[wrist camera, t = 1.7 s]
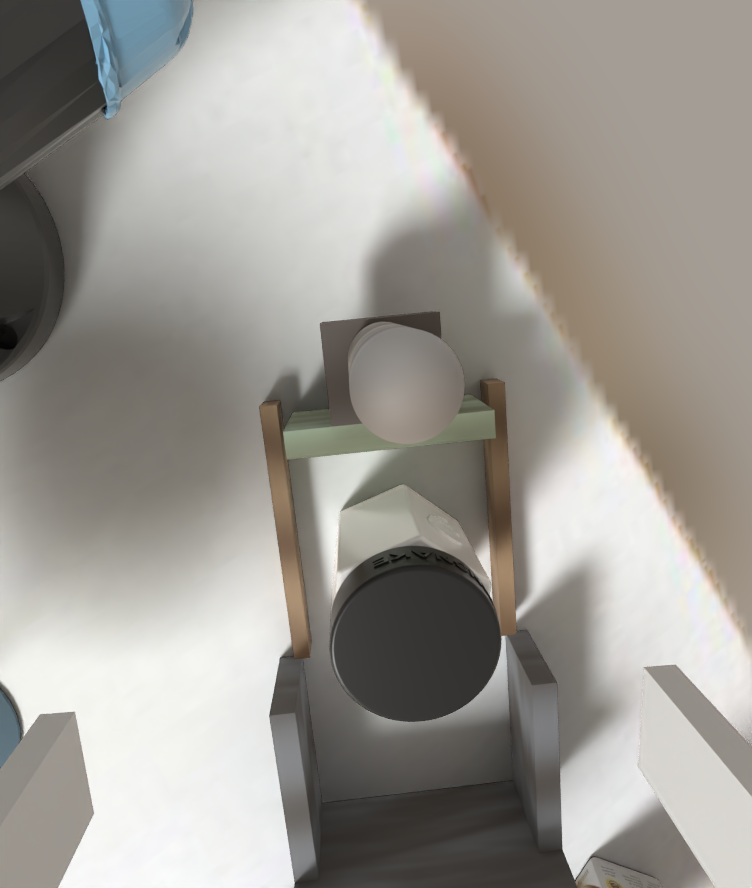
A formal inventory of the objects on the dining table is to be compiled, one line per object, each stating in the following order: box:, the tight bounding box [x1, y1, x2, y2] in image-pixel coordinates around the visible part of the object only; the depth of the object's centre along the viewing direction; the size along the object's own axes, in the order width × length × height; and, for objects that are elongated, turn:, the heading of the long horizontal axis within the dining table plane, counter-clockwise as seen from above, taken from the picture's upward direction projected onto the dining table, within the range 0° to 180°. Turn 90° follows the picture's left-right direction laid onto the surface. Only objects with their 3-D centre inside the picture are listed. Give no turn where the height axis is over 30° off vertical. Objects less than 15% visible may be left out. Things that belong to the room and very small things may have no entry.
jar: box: [329, 484, 501, 722], centre depth 34 cm, size 9×8×12 cm
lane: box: [259, 379, 577, 888], centre depth 36 cm, size 31×17×9 cm, turn 5°
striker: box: [283, 312, 496, 460], centre depth 28 cm, size 7×11×18 cm, turn 95°
